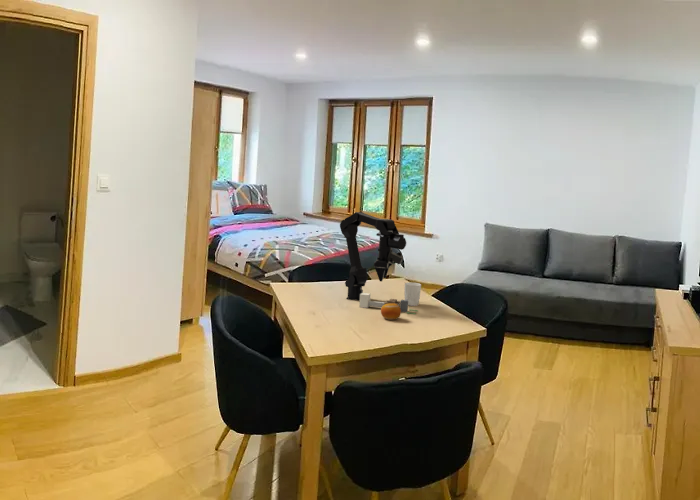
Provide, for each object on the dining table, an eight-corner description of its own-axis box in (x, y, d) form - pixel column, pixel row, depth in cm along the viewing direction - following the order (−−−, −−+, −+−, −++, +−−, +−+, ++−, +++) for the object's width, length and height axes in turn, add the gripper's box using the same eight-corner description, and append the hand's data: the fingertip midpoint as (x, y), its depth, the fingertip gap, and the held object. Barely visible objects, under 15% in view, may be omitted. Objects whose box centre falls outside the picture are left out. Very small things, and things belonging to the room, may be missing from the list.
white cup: (419, 306, 292) (420, 286, 291) (402, 305, 294) (403, 284, 292) (420, 303, 300) (421, 283, 299) (404, 301, 301) (405, 281, 300)
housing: (383, 310, 281) (384, 301, 280) (387, 307, 287) (387, 298, 287) (415, 314, 277) (415, 304, 276) (418, 311, 283) (418, 301, 283)
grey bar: (359, 307, 286) (359, 294, 285) (361, 305, 289) (362, 292, 289) (397, 311, 281) (398, 298, 280) (399, 309, 284) (400, 296, 284)
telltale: (399, 311, 281) (400, 300, 280) (401, 310, 284) (401, 299, 283) (406, 312, 280) (406, 301, 279) (407, 310, 283) (408, 300, 282)
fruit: (387, 307, 273) (389, 294, 267) (403, 316, 269) (405, 304, 264) (376, 318, 268) (378, 305, 262) (392, 328, 264) (394, 315, 259)
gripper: (399, 250, 275) (396, 285, 277) (405, 245, 293) (403, 278, 295) (374, 248, 278) (372, 282, 280) (382, 243, 296) (380, 275, 298)
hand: (382, 279), depth 288 cm, fingers open, 9 cm apart
